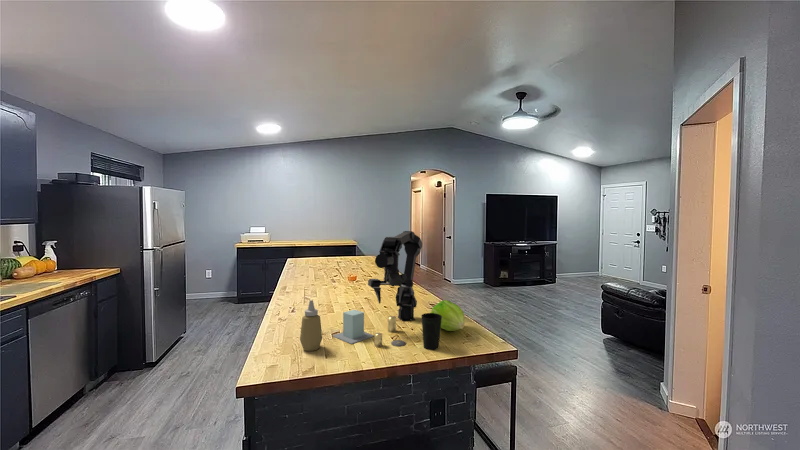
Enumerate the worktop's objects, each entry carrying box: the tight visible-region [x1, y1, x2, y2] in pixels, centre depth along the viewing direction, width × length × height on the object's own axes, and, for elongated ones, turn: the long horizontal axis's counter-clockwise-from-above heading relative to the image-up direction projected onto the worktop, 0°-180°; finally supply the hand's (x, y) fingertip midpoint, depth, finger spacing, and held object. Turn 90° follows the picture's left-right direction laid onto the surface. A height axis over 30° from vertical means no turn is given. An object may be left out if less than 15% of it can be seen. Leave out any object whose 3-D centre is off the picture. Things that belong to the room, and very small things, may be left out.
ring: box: [390, 339, 407, 347], centre depth 134 cm, size 6×6×1 cm
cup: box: [420, 312, 442, 351], centre depth 130 cm, size 8×8×12 cm
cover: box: [342, 309, 365, 339], centre depth 141 cm, size 6×6×10 cm
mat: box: [332, 331, 374, 345], centre depth 141 cm, size 12×12×1 cm
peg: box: [387, 315, 397, 333], centre depth 148 cm, size 3×3×6 cm
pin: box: [373, 332, 383, 348], centre depth 131 cm, size 3×3×4 cm
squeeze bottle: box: [299, 299, 323, 352], centre depth 128 cm, size 8×8×18 cm
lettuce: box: [430, 299, 465, 332], centre depth 148 cm, size 14×20×12 cm
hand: (389, 303), depth 147 cm, fingers open, 9 cm apart
